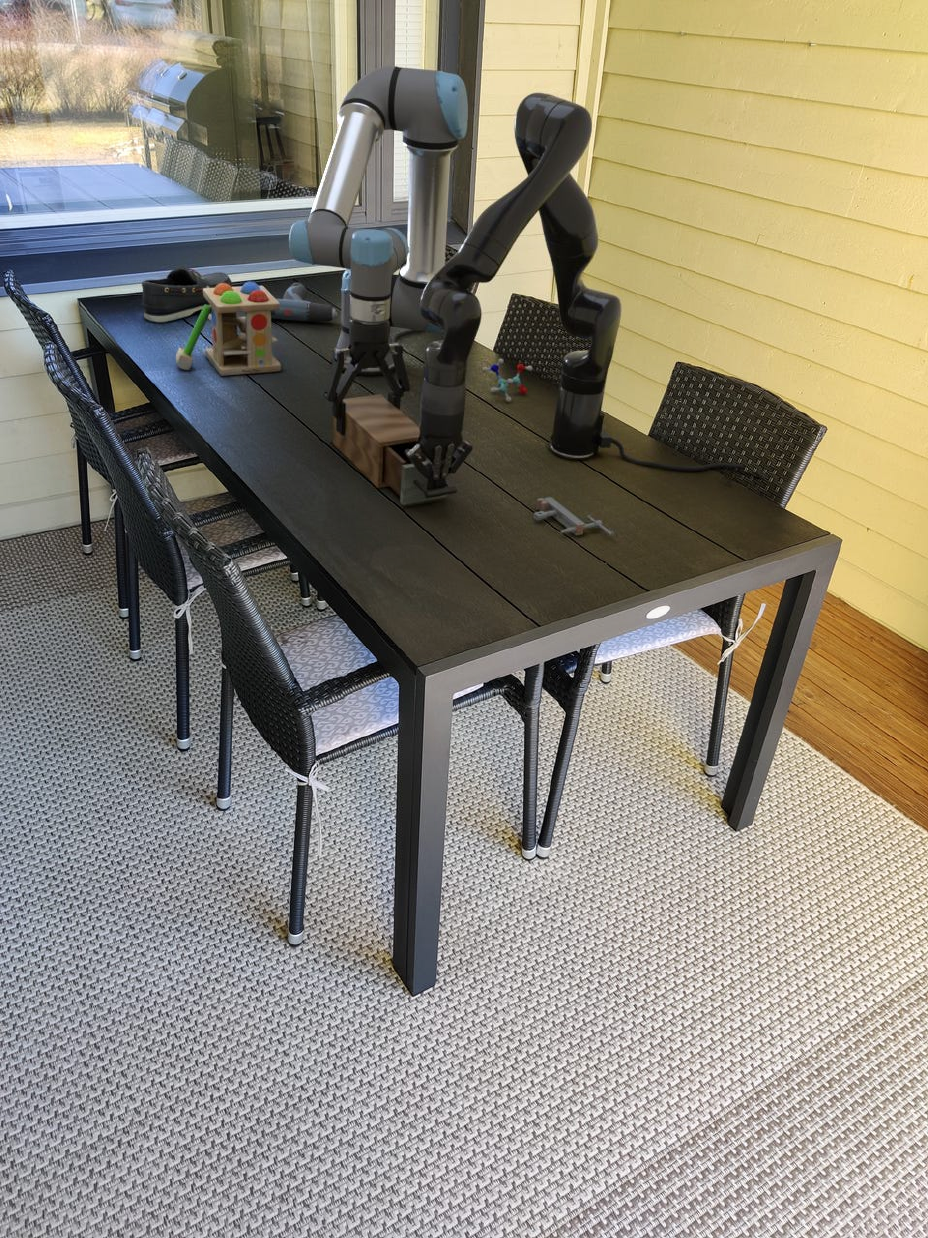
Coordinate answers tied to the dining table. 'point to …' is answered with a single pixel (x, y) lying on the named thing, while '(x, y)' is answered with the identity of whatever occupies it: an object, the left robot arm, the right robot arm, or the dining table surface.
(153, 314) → the boat shoe
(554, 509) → the clamp
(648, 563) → the dining table surface
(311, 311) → the power drill
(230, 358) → the pounding bench toy
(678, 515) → the dining table surface
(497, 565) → the dining table surface
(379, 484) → the cabinet
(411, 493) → the drawer
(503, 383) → the molecular model
